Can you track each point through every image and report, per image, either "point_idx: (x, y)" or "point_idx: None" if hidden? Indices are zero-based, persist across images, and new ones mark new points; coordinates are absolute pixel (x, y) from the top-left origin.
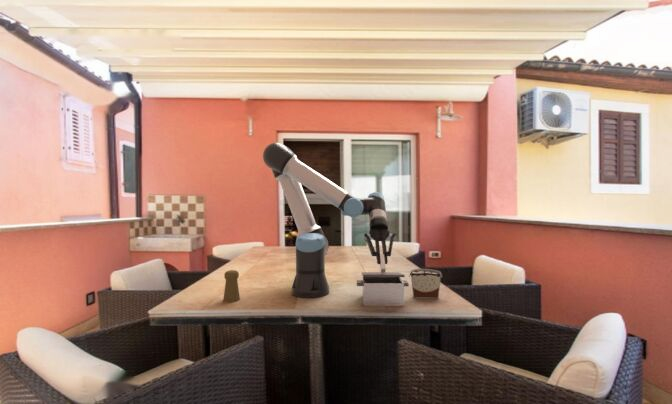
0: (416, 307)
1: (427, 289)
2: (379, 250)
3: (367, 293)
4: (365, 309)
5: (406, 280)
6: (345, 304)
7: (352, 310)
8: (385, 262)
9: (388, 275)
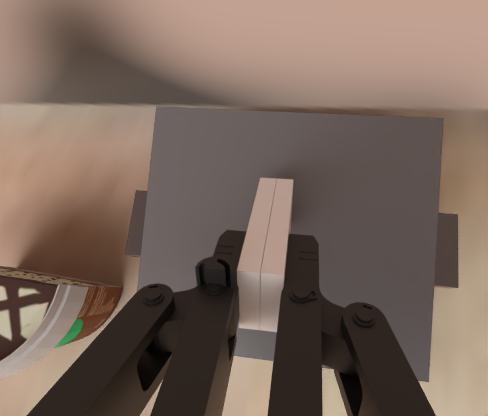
0: None
1: (35, 274)
2: (281, 320)
3: None
4: None
5: (126, 252)
6: (478, 204)
7: (443, 123)
8: (242, 237)
9: (260, 112)
